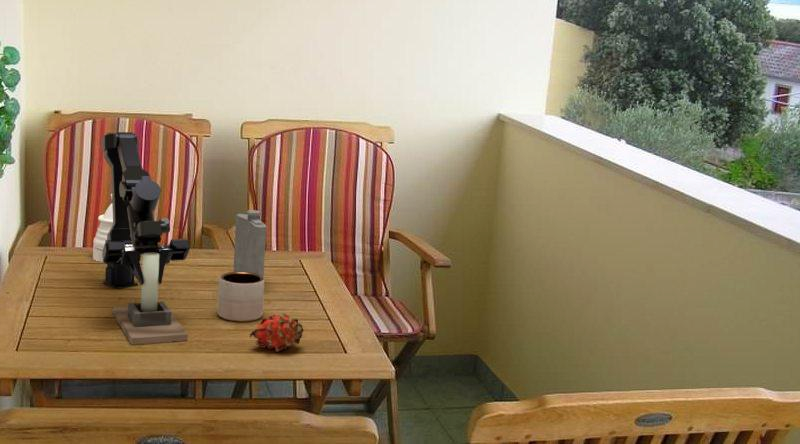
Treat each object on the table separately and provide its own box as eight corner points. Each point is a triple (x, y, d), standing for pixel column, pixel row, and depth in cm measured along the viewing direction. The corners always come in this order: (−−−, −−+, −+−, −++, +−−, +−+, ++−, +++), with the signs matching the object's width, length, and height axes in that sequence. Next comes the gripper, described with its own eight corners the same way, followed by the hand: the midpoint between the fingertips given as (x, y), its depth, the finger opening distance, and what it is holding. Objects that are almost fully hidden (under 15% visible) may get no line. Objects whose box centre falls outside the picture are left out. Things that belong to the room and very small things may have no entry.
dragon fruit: (306, 355, 210) (253, 365, 206) (298, 324, 215) (245, 332, 212) (309, 334, 203) (253, 343, 200) (300, 302, 209) (246, 311, 205)
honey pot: (86, 254, 269) (87, 192, 266) (129, 250, 277) (131, 190, 273) (102, 265, 260) (103, 201, 256) (147, 261, 267) (149, 199, 264)
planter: (270, 313, 232) (272, 276, 230) (249, 325, 221) (251, 286, 219) (231, 306, 235) (233, 268, 233) (208, 317, 225) (210, 278, 223)
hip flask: (231, 276, 261) (235, 205, 256) (245, 275, 263) (249, 204, 259) (253, 292, 247) (257, 217, 243) (267, 291, 249) (272, 217, 245)
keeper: (112, 313, 222) (112, 294, 221) (163, 310, 227) (164, 292, 226) (131, 345, 203) (132, 325, 202) (187, 340, 208) (188, 321, 207)
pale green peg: (146, 306, 216) (148, 251, 214) (160, 309, 215) (162, 253, 212) (137, 310, 213) (139, 254, 210) (151, 313, 212) (153, 257, 209)
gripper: (105, 205, 208) (113, 267, 201) (189, 204, 217) (200, 264, 210) (98, 232, 217) (106, 292, 210) (179, 230, 225) (189, 288, 218)
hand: (151, 283), depth 212 cm, fingers closed on pale green peg, 4 cm apart
